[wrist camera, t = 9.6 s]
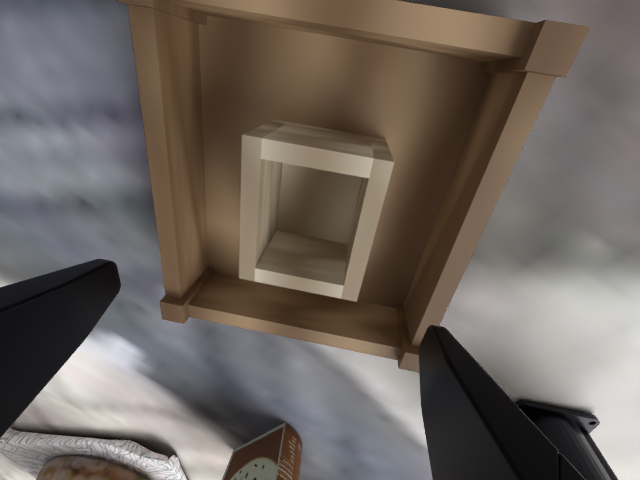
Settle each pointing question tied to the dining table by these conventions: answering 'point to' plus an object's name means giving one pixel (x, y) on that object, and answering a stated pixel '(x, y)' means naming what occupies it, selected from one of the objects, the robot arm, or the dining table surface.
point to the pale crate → (310, 206)
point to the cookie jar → (87, 458)
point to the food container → (267, 457)
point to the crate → (343, 115)
